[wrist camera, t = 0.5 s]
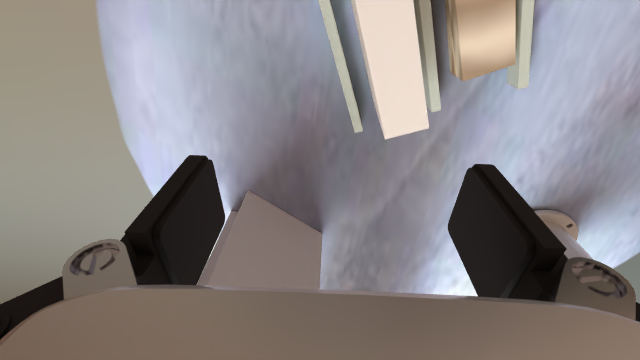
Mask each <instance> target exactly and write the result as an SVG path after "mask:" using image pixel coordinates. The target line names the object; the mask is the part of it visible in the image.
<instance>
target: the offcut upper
mask: <svg viewBox="0 0 640 360" xmlns="http://www.w3.org/2000/svg"><path fill="white" fill-rule="evenodd" d="M448 1H449V10H450V20H451V29H452V39H453V48H454V58H455V68H456V76H457V77H458V78H459V79H461V80H462V81H465V80H468V79H472V78H475V77H478V76H481V75H484V74H487V73H490V72H493V71H496V70H499V69H502V68H506V67H509V66H512V65H515V31H516V0H448Z"/></svg>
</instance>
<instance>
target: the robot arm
mask: <svg viewBox="0 0 640 360" xmlns="http://www.w3.org/2000/svg"><path fill="white" fill-rule="evenodd" d="M224 222H225V213H224V209H223V205H222V200H221V196H220V191H219V187H218V183H217V178H216V174H215V169H214V165H213V162H212V160H208V158H207V157H206V156H200V155H189V156H188V157H187V158H186V159H185V160H184V162H183V163H182V164H181V165H180V166H179V168H178V169H177V170H176V171H175V172H174V174H173V175H172V176H171V177H170V178H169V180H168V181H167V182H166V183H165V184H164V186H163V187H162V188H161V189H160V190H159V192H158V193H157V194H156V195H155V196H154V198H153V199H152V200H151V201H150V203H149V204H148V205H147V206H146V207H145V208H144V210H143V211H142V212H141V213H140V214H139V215H138V217H137V218H136V219H135V220H134V222H133V223H132V224H131V225H130V226H129V227H128V229H127V230H126V231H125V235H124V237H123V238H122V239H121V240H120V241H119V240H116V239H106V240H100V241H97V242H94V243H91V244H89V245H86V246H84V247H83V248H81V249H79V250H78V251H76V252H75V253H74V254H73V255H72V256H71V257H70V258H69V259H68V260H67V261H66V263H65V264H64V266H63V271H62V275H63V276H62V277H59V278H57V279H55V280H53V281H51V282H49V283H46V284H44V285H42V286H40V287H37V288H35V289H33V290H31V291H29V292H27V293H24V294H22V295H20V296H18V297H16V298H13V299H11V300H9V301H7V302H5V303H3V304H0V360H640V304H639V303H637V302H636V295H635V291H634V288H633V287H632V286H631V284H630V283H629V282H628V281H627V280H626V279H625V278H624V277H623V276H622V275H621V274H620V273H618V272H616V271H615V270H614V269H612V268H611V267H609V266H607V265H605V264H603V263H601V262H598V261H595V260H593V259H592V258H591V257H590V255H589V254H588V253H587V252H586V251H585V250H584V249H583V248H582V247H581V246H580V245H579V244H578V243H577V242H576V240H577V238H578V228H577V225H576V224H575V222H574V221H573V220H572V219H571V218H570V217H569V216H567V215H566V214H564V213H562V212H558V211H554V210H536V211H533V209H532V208H531V207H530V206H529V205H528V204H527V203H526V201H525V200H524V199H523V198H522V197H521V196H520V195H519V193H518V192H517V191H516V190H515V189H514V188H513V187H512V185H511V184H510V183H509V182H508V181H507V180H506V178H505V177H504V176H503V175H502V174H501V173H500V172H499V170H498V169H497V168H496V167H495V166H494V165H490V164H475V165H474V166H473V167H472V168H469V169H468V170H467V172H466V175H465V177H464V180H463V183H462V186H461V189H460V191H459V194H458V197H457V200H456V203H455V206H454V208H453V211H452V214H451V217H450V220H449V223H448V231H449V234H450V236H451V238H452V240H453V243H454V245H455V247H456V249H457V251H458V253H459V256H460V258H461V260H462V262H463V264H464V267H465V269H466V271H467V273H468V275H469V277H470V280H471V282H472V284H473V286H474V288H475V290H476V293H477V295H478V297H477V296H456V295H435V294H414V293H393V292H370V291H346V290H322V289H298V288H271V287H244V286H214V285H196V284H197V282H198V280H199V278H200V276H201V274H202V271H203V269H204V267H205V265H206V262H207V260H208V258H209V256H210V254H211V251H212V249H213V247H214V245H215V243H216V240H217V238H218V236H219V234H220V232H221V229H222V227H223V225H224Z"/></svg>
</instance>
